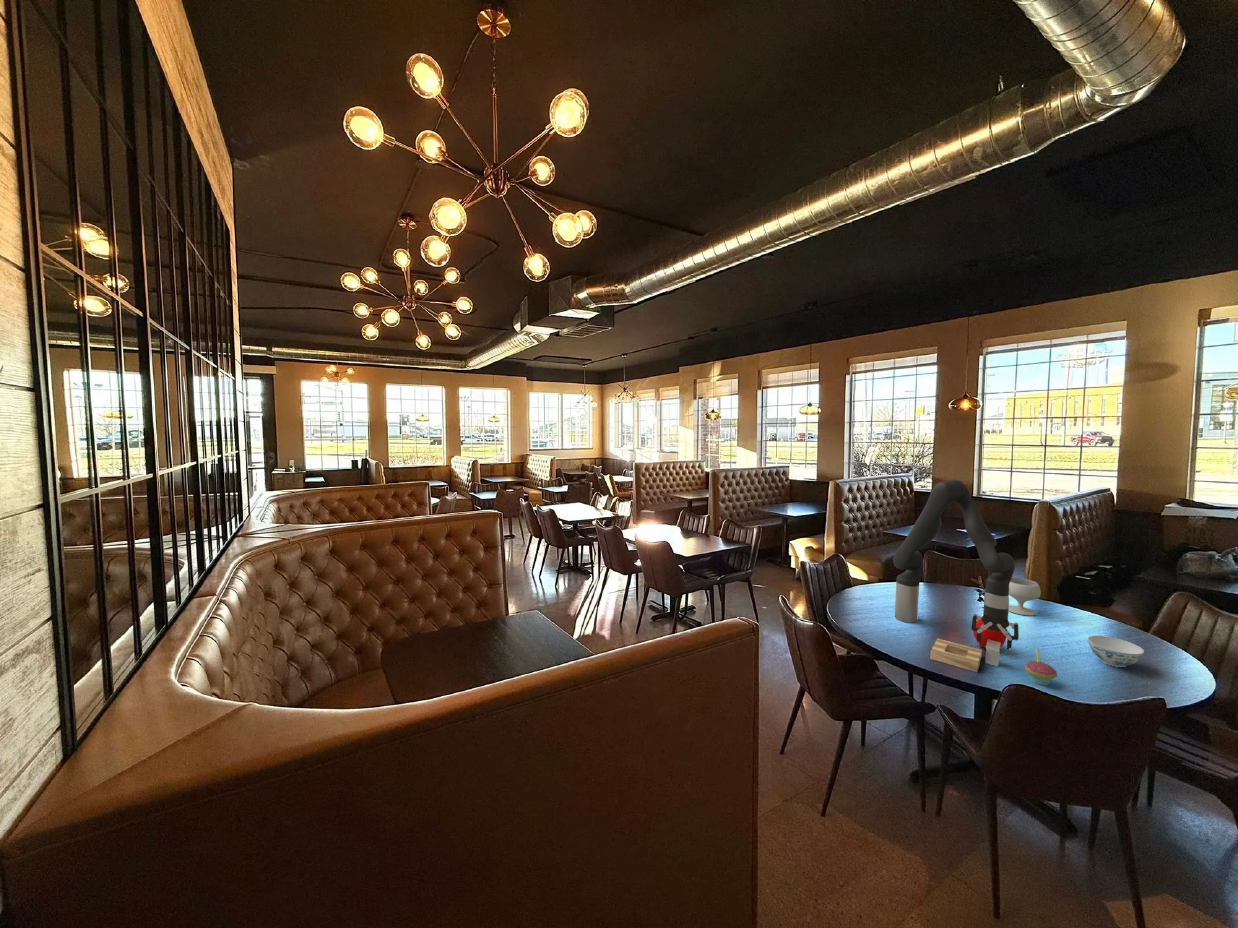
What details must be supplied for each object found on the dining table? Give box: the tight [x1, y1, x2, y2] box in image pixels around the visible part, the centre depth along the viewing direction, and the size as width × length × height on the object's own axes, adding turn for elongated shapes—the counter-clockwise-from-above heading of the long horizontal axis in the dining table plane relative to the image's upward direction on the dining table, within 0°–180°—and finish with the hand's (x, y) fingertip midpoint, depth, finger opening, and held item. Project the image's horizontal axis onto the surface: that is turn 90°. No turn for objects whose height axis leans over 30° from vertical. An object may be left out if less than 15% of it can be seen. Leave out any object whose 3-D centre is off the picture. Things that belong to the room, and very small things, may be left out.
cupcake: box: [1024, 647, 1058, 686], centre depth 171 cm, size 9×8×12 cm
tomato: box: [972, 619, 1007, 649], centre depth 196 cm, size 11×11×13 cm
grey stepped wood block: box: [984, 640, 1001, 667], centre depth 185 cm, size 7×4×8 cm, turn 138°
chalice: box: [1008, 577, 1042, 617], centre depth 233 cm, size 14×14×15 cm
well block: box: [929, 638, 983, 673], centre depth 189 cm, size 15×15×3 cm
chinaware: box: [1087, 635, 1145, 668], centre depth 184 cm, size 15×15×8 cm
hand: (993, 645), depth 184 cm, fingers open, 8 cm apart
